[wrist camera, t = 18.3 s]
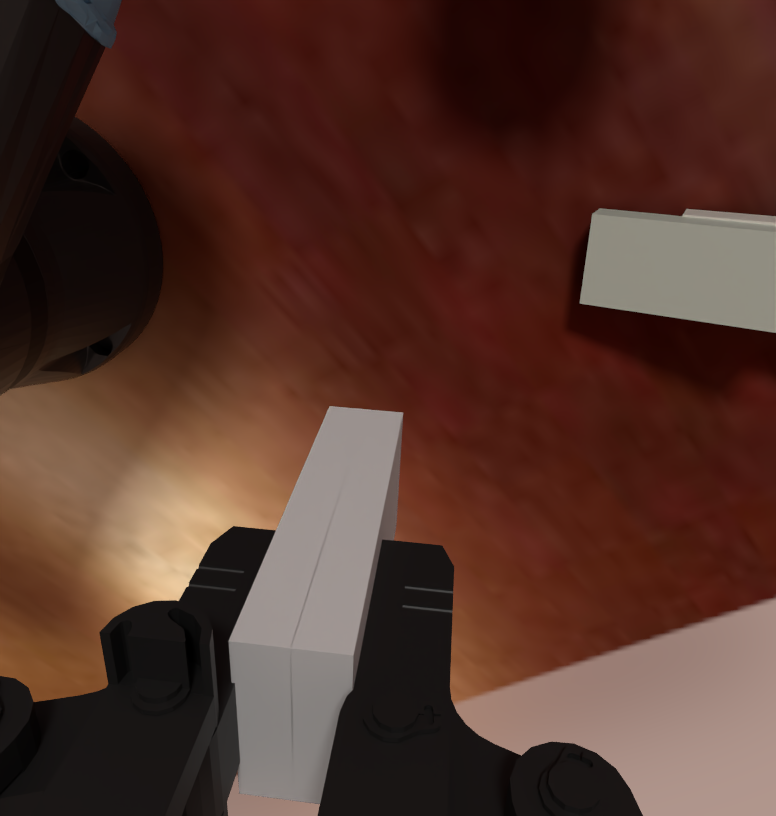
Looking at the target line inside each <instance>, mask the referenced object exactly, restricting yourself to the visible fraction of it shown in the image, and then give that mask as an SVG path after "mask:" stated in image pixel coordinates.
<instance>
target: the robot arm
mask: <svg viewBox="0 0 776 816" xmlns="http://www.w3.org/2000/svg"><path fill="white" fill-rule="evenodd" d="M121 1H122V0H0V395H2V394H3V393H5V392H6V391H7V390H9V389H13V388H19V387H25V386H32V385H38V384H44V383H50V382H57V381H62V380H68V379H72V378H76V377H78V376H81V375H84V374H86V373H89V372H91V371H93V370H95V369H97V368H99V367H101V366H102V365H104V364H106V363H107V362H108V361H110V360H111V359H112V358H114V357H115V356H116V355H118V354H119V353H120V352H121V351H123V350H124V349H125V348H126V347H128V346H129V345H130V344H131V343H132V342H133V341H134V340H135V339H136V338H137V337H138V336H139V335H140V333H141V332H142V331H143V329H144V328H145V326H146V325H147V323H148V321H149V320H150V318H151V316H152V314H153V312H154V309H155V307H156V304H157V301H158V297H159V293H160V289H161V283H162V273H163V258H162V247H161V240H160V235H159V231H158V227H157V223H156V220H155V217H154V214H153V211H152V208H151V206H150V204H149V201H148V199H147V197H146V195H145V193H144V191H143V189H142V187H141V186H140V184H139V182H138V180H137V179H136V177H135V176H134V174H133V173H132V171H131V170H130V168H129V167H128V166H127V164H126V163H125V162H124V160H123V159H122V158H121V157H120V155H119V154H118V153H117V152H116V151H115V150H114V149H113V148H112V147H111V146H110V145H109V144H108V142H107V141H105V140H104V139H103V138H102V137H101V136H100V135H99V134H98V133H97V132H95V131H94V130H93V129H91V128H90V127H89V126H88V125H86V124H85V123H83V122H82V121H80V120H79V119H78V118H76V117H74V116H75V114H76V112H77V110H78V107H79V105H80V103H81V101H82V98H83V96H84V94H85V92H86V89H87V87H88V85H89V83H90V81H91V78H92V76H93V74H94V72H95V69H96V67H97V65H98V63H99V60H100V58H101V56H102V54H103V51H104V49H105V47H108V48H111V47H112V45H113V43H114V42H115V38H116V33H117V32H116V30H115V27H114V22H115V19H116V16H117V13H118V10H119V7H120V4H121ZM402 422H403V413H401V412H390V411H378V410H367V409H356V408H344V407H333V406H329V409H328V411H327V413H326V416H325V418H324V420H323V423H322V425H321V427H320V430H319V432H318V434H317V437H316V439H315V441H314V444H313V446H312V448H311V451H310V453H309V455H308V457H307V460H306V462H305V464H304V467H303V469H302V471H301V474H300V476H299V478H298V481H297V483H296V485H295V488H294V490H293V492H292V495H291V497H290V499H289V502H288V504H287V506H286V509H285V511H284V513H283V516H282V518H281V520H280V523H279V525H278V527H277V530H276V531H275V530H265V529H255V528H246V527H236V526H233V527H232V528H230V529H229V530H228V531H226V532H225V533H224V534H223V535H221V536H220V537H219V538H217V539H216V540H215V541H213V542H212V543H211V544H210V546H209V548H208V550H207V552H206V553H205V555H204V557H203V559H202V560H201V562H200V564H199V569H196V571H195V573H194V575H193V577H192V578H191V580H190V582H189V587H186V589H185V591H184V593H183V595H182V596H181V598H180V600H179V601H153V602H149V603H146V604H142V605H138V606H135V607H132V608H130V609H128V610H127V611H125V612H123V613H121V614H120V615H118V616H116V617H114V618H113V619H112V620H111V621H110V622H109V623H108V624H107V625H106V626H105V627H104V628H103V629H102V630H101V632H100V638H101V644H102V649H103V655H104V661H105V667H106V672H107V678H108V686H107V687H106V688H105V689H102V690H100V691H97V692H93V693H88V694H84V695H80V696H73V697H66V698H60V699H53V700H46V701H39V702H33V699H32V696H31V694H30V691H29V688H28V687H27V686H25V685H24V684H22V683H21V682H20V681H18V680H17V679H15V678H9V677H2V676H0V816H228V810H227V799H228V797H229V794H230V791H231V788H232V785H233V781H234V779H235V776H236V773H237V770H238V782H239V793H240V794H248V795H255V796H262V797H270V798H277V799H285V800H293V801H300V802H308V803H315V804H320V807H319V812H318V816H643V815H642V813H641V811H640V809H639V807H638V805H637V802H636V800H635V798H634V796H633V794H632V792H631V790H630V788H629V787H628V785H627V784H626V782H625V781H624V780H623V778H622V777H621V775H620V774H619V773H618V771H617V770H616V768H614V767H613V766H612V765H611V764H609V763H608V762H607V761H606V760H604V759H603V758H602V757H600V756H599V755H598V754H597V753H595V752H593V751H590V750H587V749H585V748H583V747H580V746H578V745H576V744H571V743H560V742H548V743H545V744H541V745H538V746H534V747H531V748H530V749H529V750H528V751H527V752H525V753H524V754H523V755H522V756H521V755H518V754H516V753H514V752H512V751H509V750H507V749H505V748H502V747H500V746H498V745H495V744H493V743H492V742H490V741H488V740H486V739H484V738H482V737H481V736H479V735H478V734H476V733H475V732H474V731H473V730H472V729H471V728H469V727H468V726H467V725H466V724H465V723H464V721H463V720H462V719H461V717H460V716H459V715H458V713H457V712H456V709H455V707H454V705H453V702H452V700H451V693H450V664H451V636H452V609H453V582H454V566H453V564H452V562H451V560H450V559H449V557H448V555H447V553H446V552H445V550H444V548H443V546H441V545H432V544H422V543H412V542H402V541H394V536H395V530H396V521H397V505H398V488H399V472H400V455H401V439H402Z"/></svg>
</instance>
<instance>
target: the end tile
mask: <svg viewBox="0 0 776 816" xmlns="http://www.w3.org/2000/svg"><path fill="white" fill-rule="evenodd" d="M580 304H586V305H593V306H600V307H606V308H613V309H620V310H626V311H633V312H640V313H646V314H653V315H660V316H666V317H673V318H680V319H687V320H693V321H700V322H707V323H713V324H720V325H727V326H733V327H740V328H747V329H753V330H760V331H767V332H773V333H776V225H768V224H758V223H747V222H737V221H726V220H716V219H706V218H695V217H685V216H674V215H664V214H653V213H643V212H632V211H622V210H611V209H601V208H600V209H598V210H597V211H596V212H594V213H593V214H592V220H591V227H590V234H589V241H588V248H587V255H586V262H585V269H584V276H583V283H582V290H581V297H580Z"/></svg>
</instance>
